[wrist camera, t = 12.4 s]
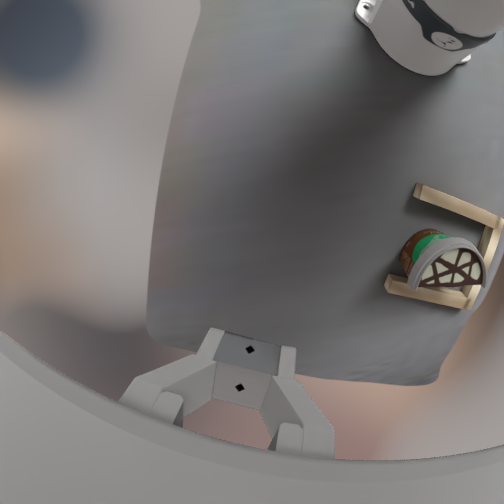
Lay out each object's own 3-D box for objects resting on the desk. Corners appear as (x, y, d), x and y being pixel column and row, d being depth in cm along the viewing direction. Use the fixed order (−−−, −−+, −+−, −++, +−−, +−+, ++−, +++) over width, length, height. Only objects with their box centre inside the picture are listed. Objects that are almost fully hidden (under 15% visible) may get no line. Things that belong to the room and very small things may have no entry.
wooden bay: (416, 182, 34) (423, 184, 32) (496, 216, 33) (505, 219, 30) (384, 285, 40) (388, 292, 38) (463, 303, 39) (469, 310, 36)
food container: (463, 222, 35) (498, 243, 25) (457, 260, 37) (488, 288, 27) (394, 219, 37) (420, 241, 27) (390, 260, 39) (411, 291, 30)
